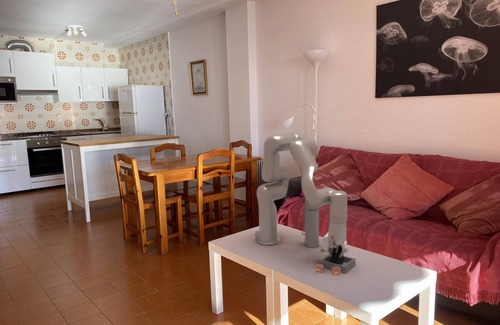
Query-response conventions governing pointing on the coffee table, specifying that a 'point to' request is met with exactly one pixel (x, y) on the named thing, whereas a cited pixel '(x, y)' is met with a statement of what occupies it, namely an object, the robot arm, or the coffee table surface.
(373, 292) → the coffee table surface
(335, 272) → the clip
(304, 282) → the coffee table surface
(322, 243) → the mug
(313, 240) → the water bottle
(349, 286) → the coffee table surface
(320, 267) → the clip
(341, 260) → the watch
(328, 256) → the holder
